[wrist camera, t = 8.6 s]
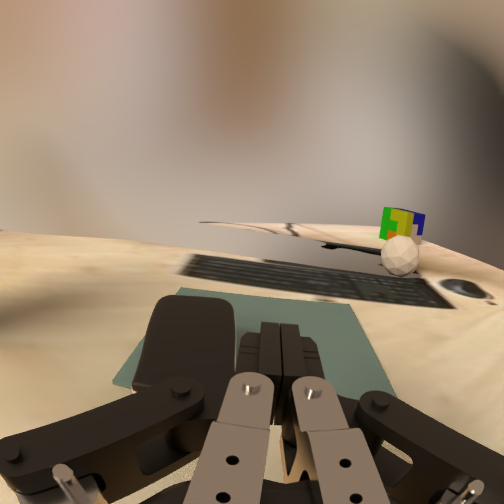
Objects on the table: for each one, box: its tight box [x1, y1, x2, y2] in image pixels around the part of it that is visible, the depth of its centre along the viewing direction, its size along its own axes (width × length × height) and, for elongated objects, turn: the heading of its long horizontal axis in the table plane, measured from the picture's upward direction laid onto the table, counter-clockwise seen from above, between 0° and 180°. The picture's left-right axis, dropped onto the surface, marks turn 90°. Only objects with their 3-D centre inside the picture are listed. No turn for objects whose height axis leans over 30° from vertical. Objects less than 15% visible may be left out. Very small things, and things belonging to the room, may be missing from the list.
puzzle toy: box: [379, 207, 425, 245], centre depth 87 cm, size 10×10×10 cm
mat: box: [112, 287, 397, 400], centre depth 29 cm, size 22×20×1 cm
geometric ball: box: [381, 235, 420, 277], centre depth 53 cm, size 8×8×8 cm
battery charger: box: [131, 295, 236, 394], centre depth 22 cm, size 7×4×11 cm
